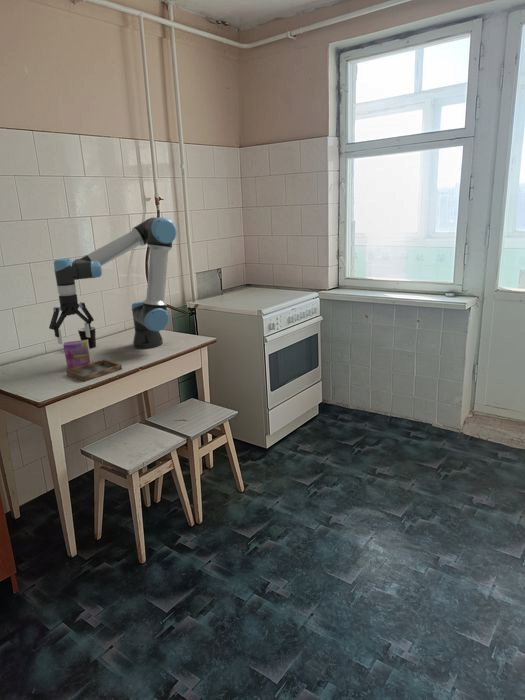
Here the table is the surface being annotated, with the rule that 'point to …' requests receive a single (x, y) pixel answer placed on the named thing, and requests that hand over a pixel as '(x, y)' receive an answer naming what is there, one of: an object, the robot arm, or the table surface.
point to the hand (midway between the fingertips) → (74, 340)
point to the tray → (93, 370)
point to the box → (77, 353)
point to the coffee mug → (83, 337)
